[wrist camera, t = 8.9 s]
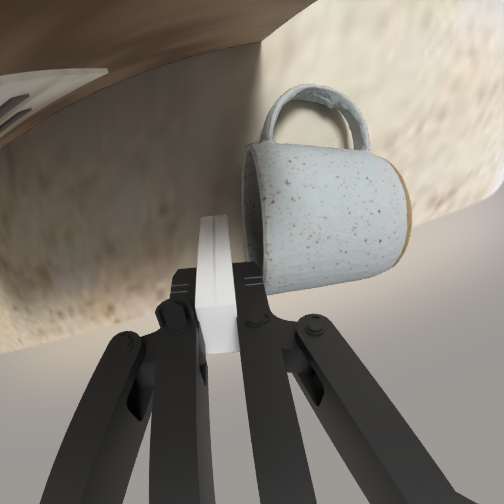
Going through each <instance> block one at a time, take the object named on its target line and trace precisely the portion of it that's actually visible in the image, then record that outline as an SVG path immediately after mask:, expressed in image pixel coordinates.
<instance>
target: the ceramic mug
mask: <svg viewBox="0 0 504 504" xmlns="http://www.w3.org/2000/svg"><path fill="white" fill-rule="evenodd" d="M295 99H299V100H305V101H311V102H317V103H320V104H324V105H326V106H327V107H328V108H337V109H338V110H339V111H340V112H341V113H342V115H343V116H344V117H345V119H346V120H347V122H348V124H349V128H350V130H351V132H352V138H353V143H354V150H351V149H336V148H326V147H317V146H307V145H297V144H294V145H293V144H278V143H276V142H275V141H274V139H273V128H274V126H275V123H276V120H277V118H278V115H279V112H280V110H281V109H282V107H283V106H284V105H285V104H286V103H287V102H288V101H292V100H295ZM369 146H370V141H369V134H368V129H367V125H366V123H365V120H364V118H363V116H362V113H361V112H360V110H359V109H358V107H357V106H356V105H355V104H354V103H353V102H352V101H351V100H350V99H349V98H348V97H346V96H345V95H344V94H342V93H341V92H339V91H337V90H334V89H332V88H330V87H326V86H322V85H316V84H302V85H298V86H295V87H293V88H291V89H288V90H287V91H286V92H285V93H284V94H283V95H281V96H280V97H279V98H278V100H277V101H276V102H275V103H274V105H273V106H272V108H271V109H270V111H269V113H268V115H267V117H266V120H265V123H264V127H263V132H262V137H261V143H251V144H249V145H248V146H247V147H246V150H245V154H244V157H243V165H242V184H241V201H242V204H241V208H242V222H243V235H244V247H245V251H246V259H247V262H252V261H254V262H255V263H256V264H257V265H258V266H259V267H260V269H261V274H262V278H263V283H264V287H265V291H266V295H273V294H279V293H283V292H289V291H296V290H303V289H310V288H316V287H322V286H327V285H333V284H338V283H344V282H350V281H356V280H361V279H366V278H370V277H373V276H376V275H378V274H381V273H383V272H385V271H387V270H389V269H390V268H392V267H393V266H395V265H396V264H397V263H398V262H399V260H400V259H401V257H402V256H403V254H404V252H405V250H406V247H407V245H408V241H409V237H410V232H411V226H412V209H411V201H410V197H409V194H408V190H407V188H406V185H405V183H404V180H403V178H402V176H401V175H400V174H399V172H398V171H397V169H396V168H395V167H394V166H393V165H392V164H391V163H390V162H389V161H387V160H386V159H384V158H382V157H379V156H376V155H374V154H372V153H371V152H370V150H369Z"/></svg>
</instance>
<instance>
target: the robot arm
mask: <svg viewBox="0 0 504 504" xmlns="http://www.w3.org/2000/svg"><path fill="white" fill-rule="evenodd" d="M155 314H156V316H157V319H158V322H159V325H160V327H161V328H160V329H159V330H157V331H156V332H153V333H151V334H148V335H145V336H142V337H140V336H139V335H138V334H137V333H135V332H132V331H125V332H121V333H119V334H117V335H115V336H114V337H113V338H112V340H111V341H110V342H109V344H108V346H107V348H106V350H105V352H104V354H103V356H102V358H101V359H100V362H99V363H98V365H97V367H96V369H95V371H94V373H93V375H92V377H91V379H90V381H89V383H88V385H87V388H86V390H85V392H84V394H83V396H82V398H81V400H80V402H79V405H78V407H77V409H76V411H75V413H74V416H73V418H72V420H71V422H70V425H69V427H68V429H67V432H66V434H65V436H64V439H63V441H62V444H61V446H60V449H59V451H58V454H57V456H56V459H55V462H54V464H53V467H52V469H51V472H50V475H49V478H48V480H47V483H46V486H45V489H44V492H43V495H42V498H41V501H40V504H122V503H123V500H124V496H125V493H126V490H127V486H128V483H129V480H130V476H131V473H132V470H133V467H134V464H135V460H136V457H137V454H138V451H139V448H140V445H141V442H142V439H143V436H144V433H145V430H146V427H147V424H148V421H149V418H150V415H151V412H152V419H151V437H150V462H149V504H215V494H214V482H213V469H212V455H211V439H210V422H209V421H210V420H209V396H208V366H207V362H206V355H205V350H206V354H219V353H230V352H240V356H241V364H242V371H243V380H244V388H245V397H246V404H247V412H248V420H249V427H250V434H251V442H252V448H253V456H254V463H255V470H256V477H257V483H258V490H259V497H260V503H261V504H317V503H316V498H315V493H314V489H313V484H312V480H311V476H310V471H309V467H308V462H307V458H306V454H305V449H304V445H303V440H302V436H301V432H300V427H299V423H298V419H297V414H296V410H295V406H294V401H293V397H292V393H291V388H290V384H289V380H288V375H287V372H290V373H292V374H293V376H294V377H295V379H296V381H297V383H298V384H299V386H300V387H301V390H302V391H303V393H304V395H305V396H306V398H307V400H308V402H309V403H310V405H311V407H312V409H313V410H314V412H315V414H316V415H317V417H318V419H319V420H320V422H321V424H322V425H323V427H324V429H325V431H326V432H327V434H328V436H329V437H330V439H331V441H332V442H333V444H334V446H335V447H336V449H337V451H338V452H339V454H340V456H341V457H342V459H343V461H344V462H345V464H346V465H347V467H348V469H349V471H350V472H351V474H352V475H353V477H354V479H355V480H356V482H357V484H358V485H359V487H360V488H361V490H362V491H363V493H364V495H365V496H366V498H367V500H368V501H369V503H370V504H477V503H475V502H473V501H472V500H470V499H468V498H466V497H464V496H462V495H461V494H459V493H457V492H455V490H454V489H453V487H452V486H451V484H450V483H449V481H448V480H447V479H446V477H445V476H444V474H443V473H442V472H441V470H440V469H439V467H438V466H437V464H436V463H435V462H434V460H433V459H432V457H431V456H430V455H429V453H428V452H427V450H426V449H425V447H424V446H423V445H422V443H421V442H420V440H419V439H418V438H417V436H416V435H415V434H414V432H413V431H412V429H411V428H410V427H409V425H408V424H407V423H406V421H405V420H404V418H403V417H402V416H401V414H400V413H399V411H398V410H397V409H396V407H395V406H394V405H393V403H392V402H391V401H390V399H389V398H388V396H387V395H386V394H385V392H384V391H383V390H382V388H381V387H380V386H379V384H378V383H377V382H376V380H375V379H374V378H373V376H372V375H371V374H370V372H369V371H368V370H367V369H366V367H365V366H364V364H363V363H362V362H361V361H360V359H359V358H358V356H357V355H356V354H355V352H354V351H353V350H352V348H351V347H350V346H349V345H348V343H347V342H346V341H345V339H344V338H343V337H342V335H341V334H340V333H339V331H338V330H337V329H336V327H335V326H334V325H333V323H332V322H331V321H330V320H329V319H328V318H327V317H325V316H322V315H319V314H309V315H305V316H303V317H302V318H300V319H299V321H298V322H294V321H287V320H283V319H280V318H278V317H276V316H275V315H273V313H272V312H271V311H270V308H269V305H268V300H267V296H266V291H265V287H264V283H263V278H262V274H261V269H260V267H259V266H258V265H257V264H256V263H255V262H254V261H252V262H241V263H232V261H231V251H230V241H229V230H228V219H227V215H217V216H207V217H200V230H199V243H198V258H197V268H186V269H178V270H177V272H176V273H175V274H174V276H173V279H172V287H171V293H170V299H167V300H166V301H164V302H162V303H161V304H160V305H159V306H158V307H157V309H156V311H155Z"/></svg>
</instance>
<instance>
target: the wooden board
mask: <svg viewBox="0 0 504 504" xmlns="http://www.w3.org/2000/svg"><path fill="white" fill-rule="evenodd" d="M315 1H317V0H0V150H1V149H2V148H3V147H5V146H6V145H8V144H9V143H10V142H12V141H13V140H14V139H16V138H17V137H19V136H20V135H22V134H23V133H25V132H26V131H28V130H29V129H31V128H32V127H34V126H35V125H37V124H39V123H40V122H42V121H43V120H45V119H47V118H48V117H50V116H52V115H53V114H55V113H57V112H59V111H60V110H62V109H64V108H66V107H68V106H69V105H71V104H73V103H75V102H77V101H79V100H81V99H83V98H85V97H87V96H89V95H91V94H93V93H95V92H97V91H99V90H101V89H104V88H106V87H108V86H110V85H113V84H115V83H117V82H120V81H122V80H124V79H127V78H129V77H132V76H134V75H137V74H140V73H142V72H145V71H148V70H150V69H153V68H156V67H159V66H162V65H165V64H168V63H171V62H174V61H178V60H181V59H184V58H188V57H191V56H195V55H199V54H202V53H206V52H210V51H214V50H219V49H223V48H228V47H233V46H238V45H243V44H248V43H254V42H260V41H262V40H264V39H265V38H266V37H267V36H269V35H270V34H271V33H272V32H274V31H275V30H276V29H278V28H279V27H280V26H282V25H283V24H284V23H286V22H287V21H288V20H290V19H291V18H292V17H294V16H295V15H296V14H298V13H299V12H301V11H302V10H304V9H305V8H307V7H308V6H309V5H311V4H312V3H314V2H315Z"/></svg>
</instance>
